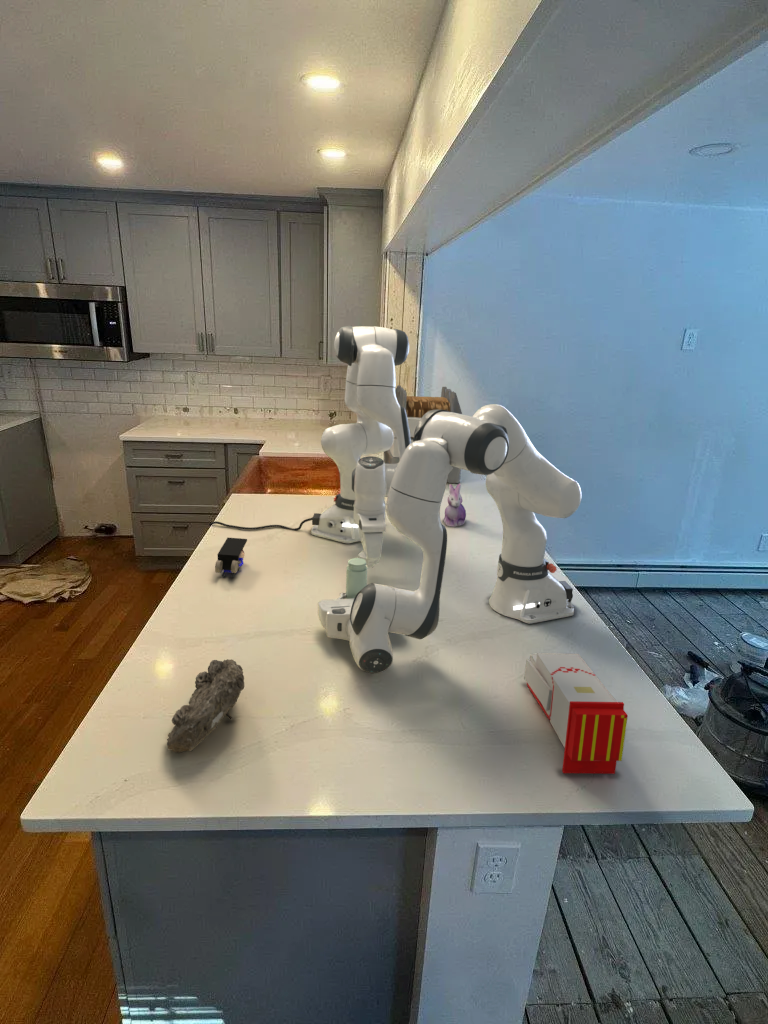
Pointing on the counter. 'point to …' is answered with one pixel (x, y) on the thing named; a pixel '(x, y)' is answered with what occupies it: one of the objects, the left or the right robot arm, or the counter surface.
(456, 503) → the figurine
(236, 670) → the fossil
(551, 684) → the toy
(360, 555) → the lid
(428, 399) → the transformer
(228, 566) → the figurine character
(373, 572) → the counter surface
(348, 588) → the jar
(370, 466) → the left robot arm
